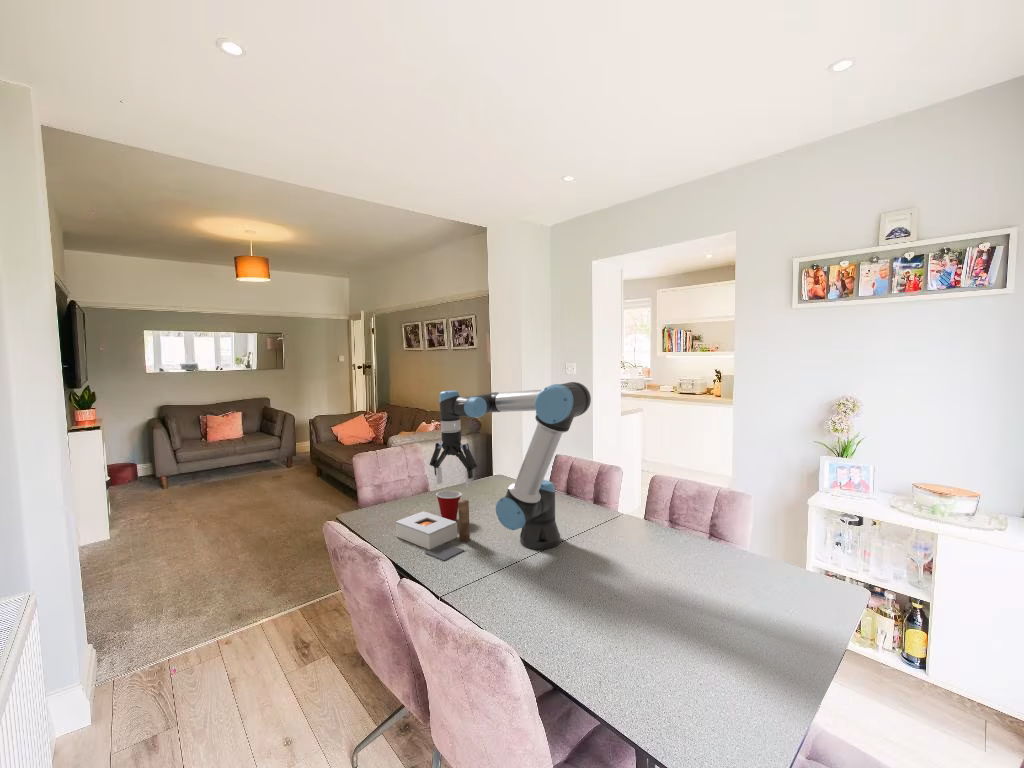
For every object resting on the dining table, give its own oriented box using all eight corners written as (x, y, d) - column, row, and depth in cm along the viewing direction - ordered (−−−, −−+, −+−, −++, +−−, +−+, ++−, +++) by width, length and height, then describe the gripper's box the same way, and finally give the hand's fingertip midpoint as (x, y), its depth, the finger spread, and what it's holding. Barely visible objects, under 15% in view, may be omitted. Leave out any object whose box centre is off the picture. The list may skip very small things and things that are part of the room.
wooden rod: (472, 539, 179) (470, 500, 178) (464, 542, 176) (463, 503, 175) (464, 536, 182) (463, 498, 181) (457, 540, 179) (455, 501, 178)
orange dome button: (435, 529, 183) (435, 523, 183) (425, 534, 179) (425, 527, 179) (427, 526, 186) (426, 520, 186) (416, 531, 182) (416, 524, 182)
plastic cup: (467, 520, 198) (466, 493, 197) (445, 527, 191) (444, 499, 190) (453, 514, 207) (452, 487, 206) (432, 520, 200) (431, 492, 199)
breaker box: (457, 537, 182) (456, 521, 181) (429, 549, 171) (428, 533, 170) (423, 525, 194) (423, 511, 194) (395, 536, 184) (395, 521, 183)
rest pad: (464, 550, 169) (464, 549, 169) (443, 561, 162) (443, 560, 162) (445, 543, 176) (445, 542, 176) (424, 553, 168) (424, 552, 168)
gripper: (484, 430, 178) (486, 485, 179) (430, 428, 189) (433, 479, 191) (473, 434, 171) (476, 490, 173) (418, 431, 182) (422, 484, 184)
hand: (453, 485), depth 182 cm, fingers open, 13 cm apart
